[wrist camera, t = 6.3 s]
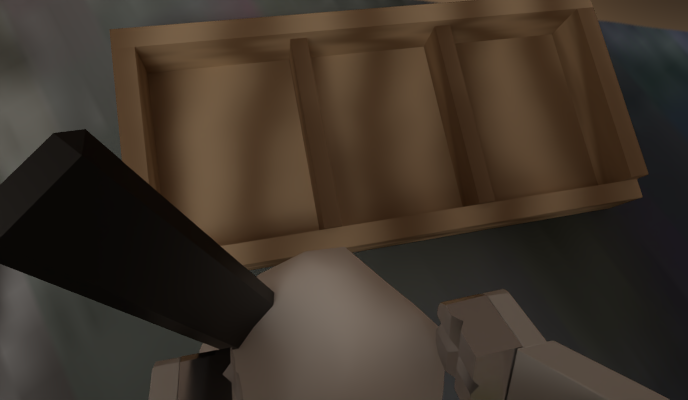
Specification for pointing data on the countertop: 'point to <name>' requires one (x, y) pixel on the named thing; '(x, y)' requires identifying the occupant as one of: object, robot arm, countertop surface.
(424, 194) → the oak compartment tray
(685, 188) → the countertop surface
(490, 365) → the robot arm
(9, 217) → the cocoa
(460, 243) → the countertop surface
